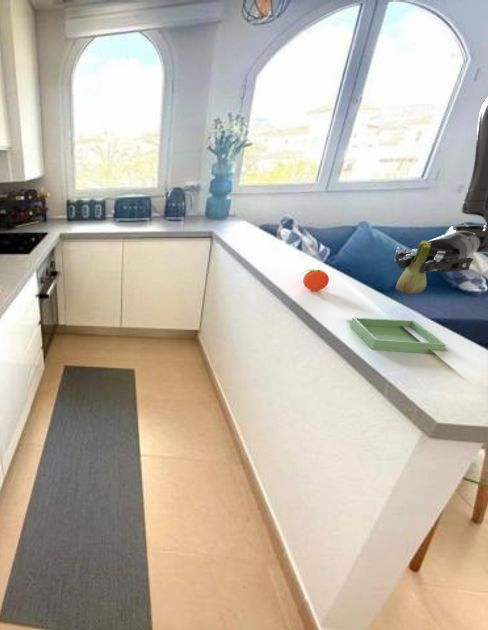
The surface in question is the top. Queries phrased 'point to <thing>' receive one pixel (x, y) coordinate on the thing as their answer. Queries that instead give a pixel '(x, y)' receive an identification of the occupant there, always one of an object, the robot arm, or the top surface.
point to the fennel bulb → (414, 272)
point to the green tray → (394, 335)
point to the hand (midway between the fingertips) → (412, 266)
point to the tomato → (315, 280)
